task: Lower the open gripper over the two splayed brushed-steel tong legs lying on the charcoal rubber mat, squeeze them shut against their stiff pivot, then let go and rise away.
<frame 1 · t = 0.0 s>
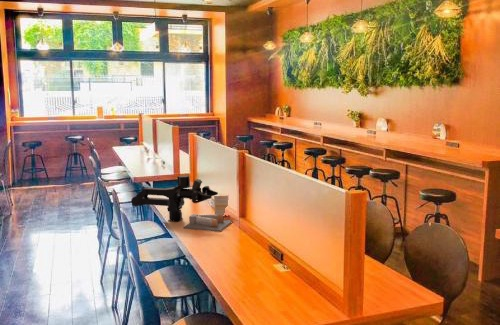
hand: (214, 195, 280), 17 cm above the table, tool horizontal, fingers open, 9 cm apart
supplement box: (221, 216, 299), on the table
tong mat: (208, 225, 279), on the table
tong leg 1: (206, 221, 276), point 3 cm above the table, hinge at -14.0°
tong leg 2: (211, 218, 282), point 3 cm above the table, hinge at 14.0°
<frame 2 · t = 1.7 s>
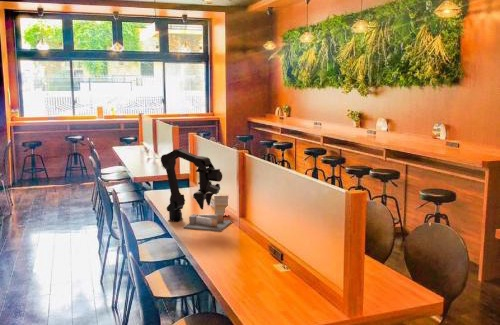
hand: (205, 207, 278), 10 cm above the table, tool pointing down, fingers open, 9 cm apart
nothing on the table moved.
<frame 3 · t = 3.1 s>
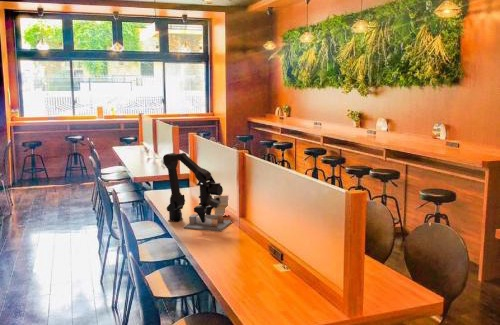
hand: (205, 220, 279), 3 cm above the table, tool pointing down, fingers open, 7 cm apart
tong leg 1: (206, 221, 276), point 3 cm above the table, hinge at -13.9°, touching gripper
tong leg 2: (211, 218, 282), point 3 cm above the table, hinge at 13.9°, touching gripper
everything else where it was.
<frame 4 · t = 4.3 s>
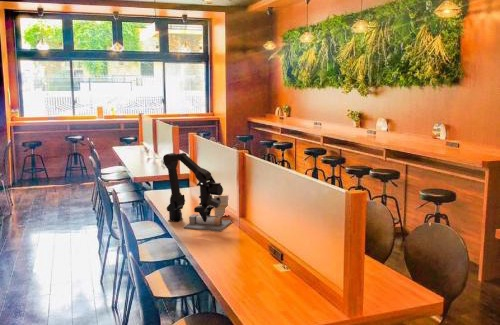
hand: (206, 220, 279), 3 cm above the table, tool pointing down, fingers open, 4 cm apart
tong leg 1: (208, 220, 277), point 3 cm above the table, hinge at 0.6°, touching gripper
tong leg 2: (210, 219, 280), point 3 cm above the table, hinge at -0.4°, touching gripper
everything else where it was.
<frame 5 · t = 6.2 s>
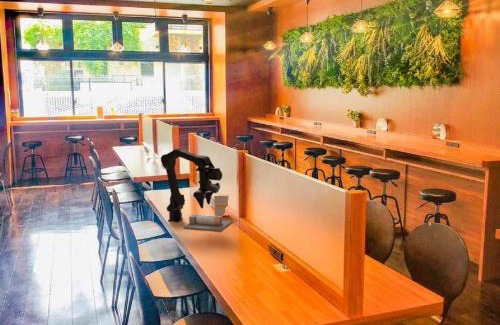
hand: (205, 206, 278), 11 cm above the table, tool pointing down, fingers open, 9 cm apart
tong leg 1: (208, 220, 277), point 3 cm above the table, hinge at 0.6°
tong leg 2: (210, 219, 280), point 3 cm above the table, hinge at -0.4°
everything else where it was.
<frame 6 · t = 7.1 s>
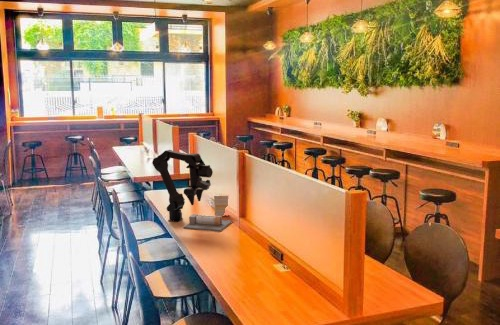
hand: (196, 203, 281), 12 cm above the table, tool pointing down, fingers open, 9 cm apart
nothing on the table moved.
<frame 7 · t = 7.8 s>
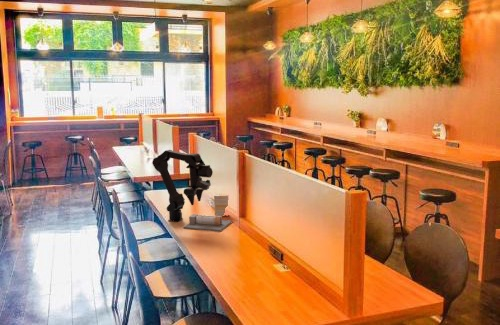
hand: (196, 203, 281), 12 cm above the table, tool pointing down, fingers open, 9 cm apart
nothing on the table moved.
at the end: tong leg 2 at +0° (first picture: +14°); tong leg 1 at +1° (first picture: -14°) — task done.
